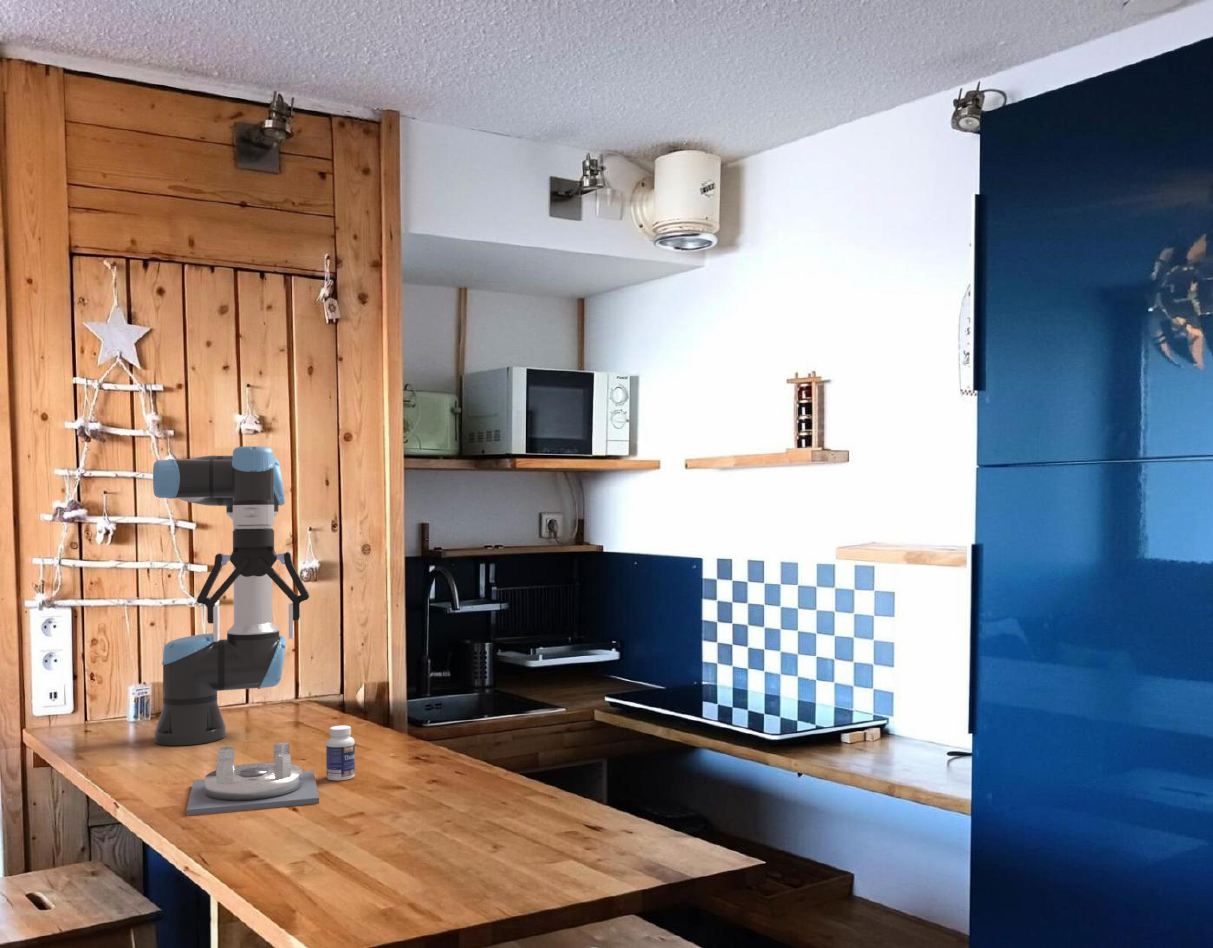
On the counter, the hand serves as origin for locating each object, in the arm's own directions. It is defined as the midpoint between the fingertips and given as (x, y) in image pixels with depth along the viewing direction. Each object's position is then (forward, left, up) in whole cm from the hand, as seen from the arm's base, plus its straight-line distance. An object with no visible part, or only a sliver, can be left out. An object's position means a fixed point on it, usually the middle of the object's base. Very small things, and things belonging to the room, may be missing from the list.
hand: (254, 639), depth 209 cm
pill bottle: (0, +16, -28) cm, 32 cm away
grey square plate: (+7, 0, -28) cm, 28 cm away
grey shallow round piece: (+7, 0, -26) cm, 27 cm away
